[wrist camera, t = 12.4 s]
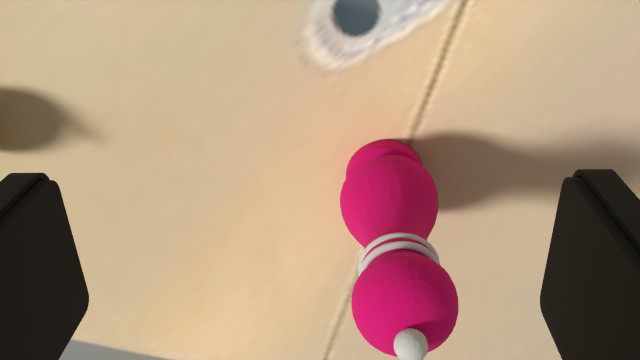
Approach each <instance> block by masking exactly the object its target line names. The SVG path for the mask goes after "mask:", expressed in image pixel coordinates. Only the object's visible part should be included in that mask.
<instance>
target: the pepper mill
mask: <svg viewBox="0 0 640 360" xmlns="http://www.w3.org/2000/svg"><path fill="white" fill-rule="evenodd" d="M340 206H341V211H342V216H343V219H344V221H345V224H346V226H347V228H348V229H349V231H350V233H351V234H352V235H353V236H354V238H355V239H356V240H357V241H358V242H359V243H360V244H361V245H362V246H363V247H364V248H365V249H364V251H363V252H362V254H361V257H360V260H359V264H358V271H359V277H358V279H357V281H356V283H355V285H354V288H353V293H352V312H353V317H354V320H355V322H356V325H357V328H358V329H359V331H360V332H361V334H362V336H363V337H364V338H365V339H366V340H367V341H368V342H369V343H370V344H371V345H372V346H373V347H375V348H376V349H378V350H380V351H382V352H383V353H386V354H389V355H393V356H396V357H398V358H399V359H400V360H423V358H424V357H425V356H426V354H427V353H428V352H430V351H432V350H434V349H435V348H437V347H438V346H440V345H441V344H442V343H443V342H444V341H445V340H446V339H447V338H448V337H449V335H450V334H451V333H452V331H453V328H454V326H455V324H456V320H457V315H458V296H457V292H456V289H455V286H454V284H453V282H452V280H451V278H450V276H449V274H448V273H447V272H446V271H445V270H444V268H442V267H441V265H440V263H439V257H438V254H437V252H436V250H435V249H434V248H433V246H432V245H431V244H430V243H429V242H428V241H427V238H428V236H429V234H430V232H431V231H432V229H433V227H434V225H435V221H436V217H437V213H438V196H437V189H436V186H435V183H434V181H433V179H432V177H431V176H430V174H429V173H428V172H427V170H426V169H425V168H423V165H422V162H421V159H420V158H419V156H418V155H417V154H416V153H415V151H414V150H413V149H411V148H410V147H409V146H407V145H405V144H403V143H401V142H397V141H393V140H380V141H375V142H372V143H369V144H367V145H365V146H363V147H362V148H360V149H359V150H358V151H357V152H356V153H355V154H354V155H353V156H352V158H351V160H350V161H349V163H348V166H347V170H346V180H345V182H344V184H343V187H342V190H341V195H340Z"/></svg>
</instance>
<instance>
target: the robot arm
mask: <svg viewBox="0 0 640 360" xmlns="http://www.w3.org/2000/svg"><path fill="white" fill-rule="evenodd" d="M88 303H89V294H88V290H87V286H86V282H85V279H84V275H83V272H82V268H81V264H80V261H79V257H78V254H77V250H76V246H75V243H74V239H73V235H72V232H71V228H70V225H69V221H68V217H67V214H66V210H65V207H64V203H63V199H62V196H61V192H60V189H59V186H58V184H57V183H56V182H55V181H53V180H50V179H49V178H48V176H47V175H46V174H44V173H11V174H9V175H7V176H6V177H5V178H4V179H3V180H2V181H1V182H0V360H58V359H59V358H60V356H61V354H62V353H63V351H64V349H65V348H66V346H67V344H68V342H69V341H70V339H71V337H72V336H73V334H74V332H75V330H76V329H77V327H78V325H79V323H80V322H81V320H82V318H83V317H84V315H85V313H86V311H87V308H88ZM540 306H541V311H542V314H543V317H544V319H545V321H546V324H547V326H548V328H549V330H550V333H551V335H552V337H553V340H554V342H555V344H556V346H557V349H558V351H559V353H560V355H561V358H562V360H640V200H639V199H638V197H637V196H636V195H635V194H634V193H633V192H632V191H631V190H630V188H629V187H628V186H627V185H626V184H625V183H624V182H623V180H622V179H621V178H620V177H619V176H618V175H617V174H616V173H615V172H614V171H613V170H612V169H583V170H577V171H576V172H575V173H574V175H573V177H567V178H565V179H564V181H563V184H562V187H561V193H560V198H559V203H558V208H557V213H556V218H555V223H554V228H553V233H552V238H551V243H550V248H549V253H548V258H547V264H546V269H545V274H544V279H543V284H542V289H541V295H540Z"/></svg>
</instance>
